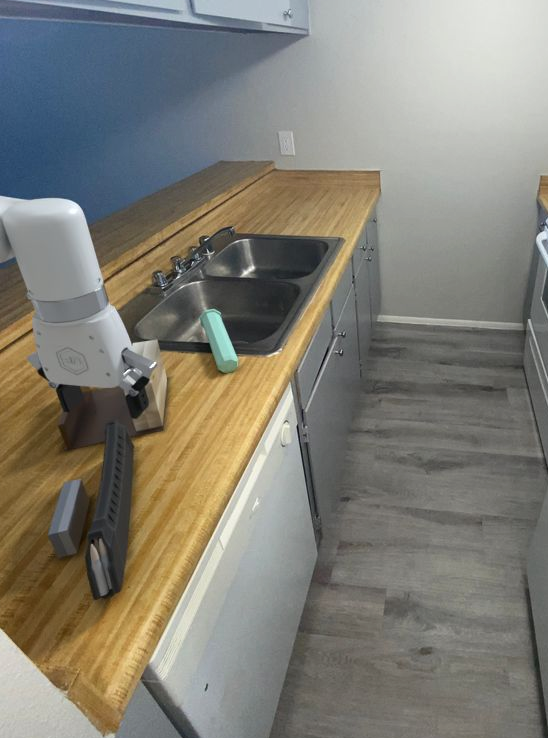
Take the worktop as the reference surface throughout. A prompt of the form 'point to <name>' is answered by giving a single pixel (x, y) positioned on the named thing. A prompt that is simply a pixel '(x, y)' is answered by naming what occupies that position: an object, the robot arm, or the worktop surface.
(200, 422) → the worktop surface
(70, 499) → the blue-grey rectangular block
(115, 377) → the robot arm
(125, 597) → the worktop surface
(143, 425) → the book rack
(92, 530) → the magazine
